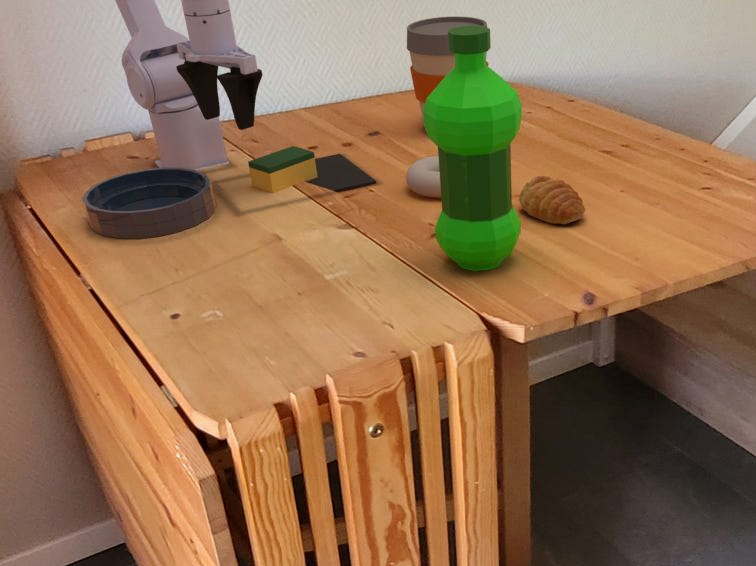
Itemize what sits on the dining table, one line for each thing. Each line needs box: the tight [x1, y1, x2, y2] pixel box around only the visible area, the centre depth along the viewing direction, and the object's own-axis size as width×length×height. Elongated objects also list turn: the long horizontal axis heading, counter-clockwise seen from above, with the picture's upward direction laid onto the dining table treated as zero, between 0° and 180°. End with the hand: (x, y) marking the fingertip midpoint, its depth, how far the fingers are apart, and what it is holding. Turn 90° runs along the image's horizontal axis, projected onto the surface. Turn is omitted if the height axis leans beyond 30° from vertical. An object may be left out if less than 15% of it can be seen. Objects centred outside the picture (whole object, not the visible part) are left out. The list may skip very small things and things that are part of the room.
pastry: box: [518, 175, 586, 225], centre depth 122 cm, size 9×7×4 cm
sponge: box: [247, 145, 317, 194], centre depth 135 cm, size 8×5×4 cm, turn 138°
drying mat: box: [305, 153, 377, 193], centre depth 137 cm, size 20×14×1 cm
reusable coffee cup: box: [406, 15, 489, 132], centre depth 149 cm, size 13×13×15 cm
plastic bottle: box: [423, 26, 523, 272], centre depth 106 cm, size 10×10×25 cm
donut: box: [405, 155, 441, 199], centre depth 132 cm, size 10×4×10 cm
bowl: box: [81, 167, 217, 240], centre depth 127 cm, size 16×16×4 cm
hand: (229, 122), depth 129 cm, fingers open, 7 cm apart
